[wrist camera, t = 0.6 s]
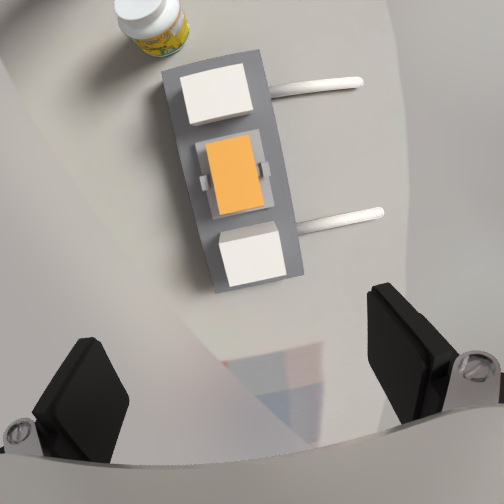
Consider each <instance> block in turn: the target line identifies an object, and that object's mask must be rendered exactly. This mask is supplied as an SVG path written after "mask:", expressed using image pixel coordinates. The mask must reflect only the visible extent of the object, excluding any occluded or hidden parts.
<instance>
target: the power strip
mask: <svg viewBox="0 0 504 504" xmlns="http://www.w3.org/2000/svg"><path fill="white" fill-rule="evenodd" d="M161 74H162V79H163V84H164V88H165V93H166V98H167V103H168V107H169V112H170V116H171V121H172V125H173V130H174V134H175V139H176V143H177V147H178V152H179V156H180V160H181V164H182V168H183V173H184V177H185V181H186V185H187V189H188V193H189V197H190V201H191V205H192V209H193V213H194V216H195V220H196V224H197V228H198V232H199V236H200V239H201V243H202V247H203V250H204V254H205V258H206V261H207V265H208V269H209V272H210V276H211V279H212V283H213V286H214V290H215V293H220V292H225V291H230V290H235V289H240V288H245V287H250V286H254V285H259V284H264V283H269V282H273V281H278V280H282V279H287V278H292V277H296V276H301V275H304V269H303V263H302V257H301V251H300V245H299V239H298V235H301V234H306V233H311V232H315V231H320V230H325V229H329V228H334V227H339V226H344V225H349V224H353V223H358V222H363V221H368V220H372V219H377V218H381V217H382V216H383V215H384V210H383V209H382V208H381V207H375V208H370V209H365V210H360V211H355V212H350V213H345V214H340V215H335V216H330V217H325V218H320V219H315V220H310V221H306V222H301V223H296V222H295V216H294V210H293V205H292V199H291V194H290V189H289V184H288V178H287V173H286V168H285V163H284V158H283V153H282V148H281V143H280V138H279V134H278V129H277V124H276V120H275V115H274V110H273V106H272V101H271V98H276V97H283V96H289V95H296V94H303V93H311V92H319V91H327V90H337V89H348V88H359V87H362V86H363V80H362V78H360V77H344V78H332V79H322V80H313V81H305V82H297V83H290V84H283V85H276V86H270V87H268V84H267V79H266V75H265V71H264V67H263V62H262V58H261V54H260V50H259V49H258V50H252V51H246V52H241V53H235V54H230V55H225V56H221V57H216V58H212V59H207V60H203V61H199V62H195V63H191V64H187V65H183V66H180V67H176V68H172V69H169V70H165V71H162V72H161ZM248 134H249V138H250V143H251V147H252V151H253V156H254V160H255V165H257V164H258V168H259V172H260V176H258V178H259V183H260V187H261V192H262V196H263V201H264V206H262V207H257V208H253V209H248V210H244V211H239V212H234V213H230V214H225V215H220V212H219V208H218V203H217V198H216V194H215V189H214V186H213V187H212V184H211V180H210V175H212V174H211V169H210V165H209V160H208V155H207V150H206V145H205V144H208V143H212V142H216V141H221V140H225V139H230V138H234V137H239V136H244V135H248Z"/></svg>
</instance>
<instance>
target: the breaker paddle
mask: <svg viewBox="0 0 504 504" xmlns="http://www.w3.org/2000/svg"><path fill="white" fill-rule="evenodd" d="M205 145H206V150H207V155H208V160H209V165H210V169H211V174H212V175H210V180H211V184H212V187H213V186H214V189H215V194H216V198H217V203H218V208H219V212H220V215H225V214H230V213H234V212H239V211H244V210H248V209H253V208H257V207H262V206H264V201H263V196H262V192H261V187H260V183H259V178H258V176H260V172H259V168H258V164H257V165H255V160H254V156H253V151H252V147H251V143H250V138H249V134H248V135H244V136H239V137H234V138H230V139H225V140H221V141H216V142H212V143H208V144H205Z"/></svg>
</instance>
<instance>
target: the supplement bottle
mask: <svg viewBox="0 0 504 504" xmlns="http://www.w3.org/2000/svg"><path fill="white" fill-rule="evenodd" d="M114 11H115V13H116V15H117V16H118V25H119V27H120V29H121V31H122V32H123V33H124V34H125V35H126V36H128V37H129V38H130V39H131V40H132V41H133V42H134V43H135V44H137V45H138V46H139V47H140V48H141V49H142V50H143V51H144V52H145V53H147V54H149V55H152V56H156V57H163V56H167V55H170V54H173V53H175V52H177V51H178V50H180V49H181V48H182V47H183V46H184V45H185V44H186V42H187V40H188V38H189V34H190V26H189V23H188V21H187V18H186V16H185V14H184V11H183V9H182V7H181V5H180V3H179V0H115V2H114Z"/></svg>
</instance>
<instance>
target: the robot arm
mask: <svg viewBox="0 0 504 504" xmlns="http://www.w3.org/2000/svg"><path fill="white" fill-rule="evenodd" d="M367 315H368V361H369V364H370V366H371V368H372V369H373V371H374V373H375V375H376V377H377V379H378V381H379V382H380V384H381V386H382V388H383V390H384V392H385V394H386V395H387V397H388V399H389V401H390V403H391V405H392V407H393V409H394V411H395V413H396V415H397V416H398V418H399V420H400V422H401V424H402V425H399V426H396V427H393V428H390V429H387V430H384V431H381V432H377V433H374V434H370V435H367V436H363V437H360V438H356V439H352V440H348V441H344V442H341V443H337V444H333V445H328V446H324V447H320V448H315V449H311V450H306V451H301V452H296V453H291V454H284V455H279V456H272V457H266V458H259V459H251V460H243V461H234V462H224V463H212V464H194V465H124V464H110V461H111V458H112V454H113V451H114V448H115V445H116V441H117V439H118V435H119V432H120V429H121V426H122V423H123V420H124V417H125V414H126V411H127V408H128V406H129V396H128V394H127V392H126V390H125V388H124V387H123V385H122V383H121V381H120V379H119V377H118V376H117V374H116V372H115V370H114V368H113V366H112V364H111V362H110V360H109V358H108V356H107V354H106V352H105V350H104V348H103V346H102V344H101V342H99V341H97V340H96V339H95V338H94V337H90V338H81V339H79V340H78V341H77V343H76V344H75V345H74V347H73V348H72V350H71V351H70V353H69V354H68V356H67V357H66V359H65V360H64V362H63V363H62V365H61V366H60V368H59V369H58V371H57V372H56V374H55V375H54V377H53V379H52V380H51V382H50V383H49V385H48V386H47V388H46V390H45V391H44V393H43V394H42V396H41V398H40V399H39V401H38V402H37V404H36V406H35V407H34V409H33V411H32V414H33V415H34V416H35V418H36V419H37V420H36V422H35V423H34V421H33V420H31V419H30V418H21V419H18V420H16V421H14V422H13V423H11V424H10V425H9V426H8V428H7V429H6V430H5V433H4V435H3V442H4V446H3V447H1V448H0V504H504V373H501V368H500V364H499V362H498V361H497V359H496V358H495V357H494V356H493V355H491V354H489V353H487V352H484V351H478V350H473V351H468V352H465V353H463V354H461V355H459V354H458V353H457V351H456V350H455V349H454V348H453V347H452V346H451V345H450V344H449V343H448V342H447V340H446V339H445V338H444V337H443V336H442V335H441V334H440V333H439V332H438V331H437V330H436V329H435V327H434V326H433V325H432V324H431V323H430V322H429V321H428V320H427V319H426V318H425V317H424V316H423V315H422V314H421V313H418V312H417V311H416V309H415V308H414V307H413V306H412V305H411V304H410V303H409V302H408V301H407V300H406V299H405V298H404V297H403V296H402V295H401V294H400V293H399V292H398V291H397V290H396V289H395V288H394V287H393V286H392V285H391V284H390V283H389V282H388V283H384V284H380V285H376V286H373V287H372V289H371V291H369V292H368V293H367Z"/></svg>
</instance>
